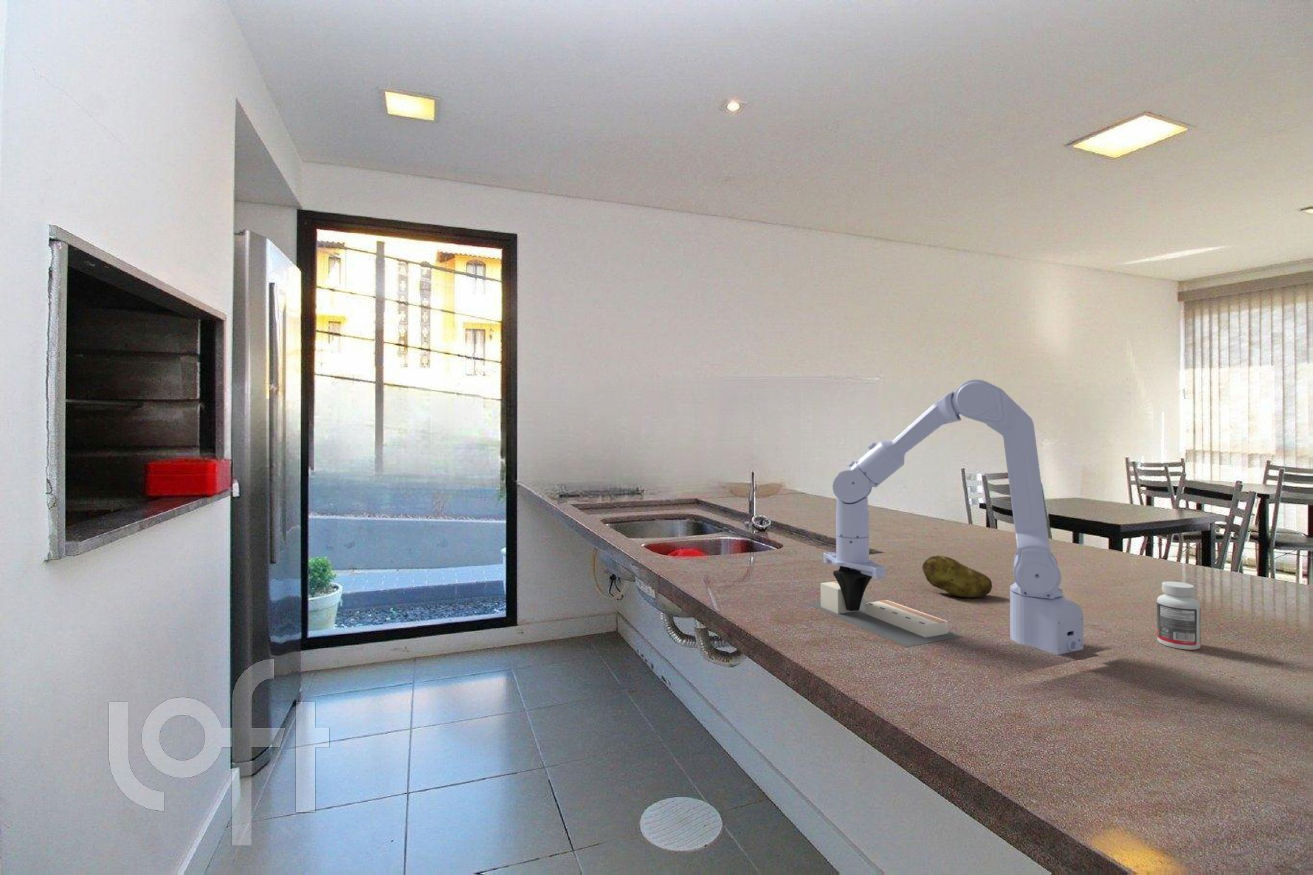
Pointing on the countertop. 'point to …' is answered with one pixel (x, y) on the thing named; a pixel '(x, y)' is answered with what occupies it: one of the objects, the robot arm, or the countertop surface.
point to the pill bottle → (1178, 616)
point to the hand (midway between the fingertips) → (852, 609)
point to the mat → (884, 627)
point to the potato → (955, 577)
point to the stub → (832, 597)
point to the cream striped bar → (907, 618)
